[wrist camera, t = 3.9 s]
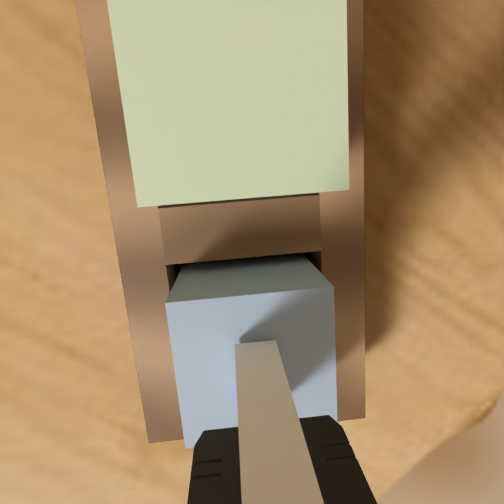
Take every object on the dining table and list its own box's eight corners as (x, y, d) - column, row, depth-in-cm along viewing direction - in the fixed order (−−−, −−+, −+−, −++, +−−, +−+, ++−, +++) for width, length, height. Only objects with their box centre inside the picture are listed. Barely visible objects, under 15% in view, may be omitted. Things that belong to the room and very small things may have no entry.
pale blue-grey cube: (187, 256, 19) (164, 303, 12) (296, 247, 19) (333, 286, 13) (199, 356, 20) (185, 448, 14) (301, 346, 21) (337, 430, 14)
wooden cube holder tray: (67, -239, 15) (10, -388, 11) (326, -243, 15) (361, -386, 11) (163, 394, 21) (148, 443, 17) (340, 374, 22) (365, 417, 18)
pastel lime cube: (156, 54, 15) (100, -43, 8) (293, 45, 16) (346, -54, 9) (174, 193, 17) (137, 207, 10) (299, 183, 17) (349, 189, 10)
